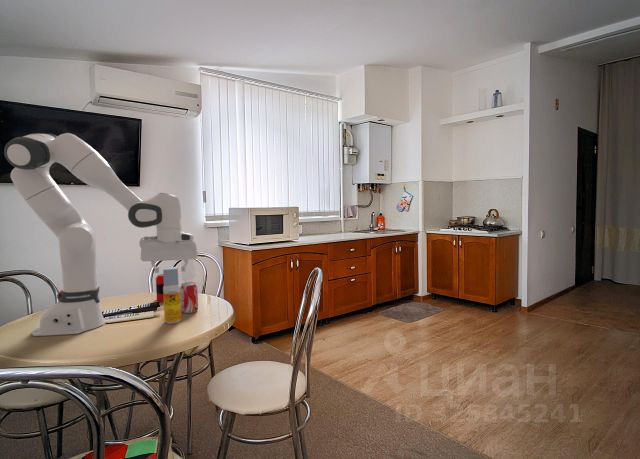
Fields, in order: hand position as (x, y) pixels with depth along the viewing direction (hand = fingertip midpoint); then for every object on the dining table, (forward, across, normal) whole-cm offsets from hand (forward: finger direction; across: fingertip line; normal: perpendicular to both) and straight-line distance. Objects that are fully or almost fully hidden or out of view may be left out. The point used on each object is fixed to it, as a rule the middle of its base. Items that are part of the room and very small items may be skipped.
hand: (170, 271), depth 145 cm
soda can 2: (+20, +6, +12) cm, 24 cm away
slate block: (+5, 0, 0) cm, 5 cm away
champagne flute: (+20, +7, +23) cm, 31 cm away
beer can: (+20, 0, 0) cm, 20 cm away
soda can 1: (+20, -4, +37) cm, 42 cm away
